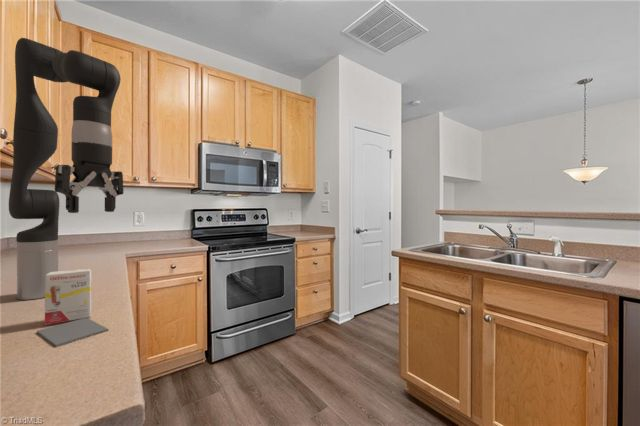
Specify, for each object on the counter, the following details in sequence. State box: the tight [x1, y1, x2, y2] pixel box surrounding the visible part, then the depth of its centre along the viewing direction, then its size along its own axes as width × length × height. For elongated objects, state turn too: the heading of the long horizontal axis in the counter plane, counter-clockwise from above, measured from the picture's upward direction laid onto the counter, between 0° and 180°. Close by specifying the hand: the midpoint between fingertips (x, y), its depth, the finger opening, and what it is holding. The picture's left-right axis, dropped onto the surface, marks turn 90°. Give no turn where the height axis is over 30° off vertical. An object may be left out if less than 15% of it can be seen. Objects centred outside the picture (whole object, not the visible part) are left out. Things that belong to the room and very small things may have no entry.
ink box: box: [44, 268, 92, 326], centre depth 71 cm, size 9×5×12 cm, turn 127°
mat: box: [36, 317, 109, 348], centre depth 64 cm, size 12×9×1 cm
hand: (92, 212), depth 68 cm, fingers open, 8 cm apart
